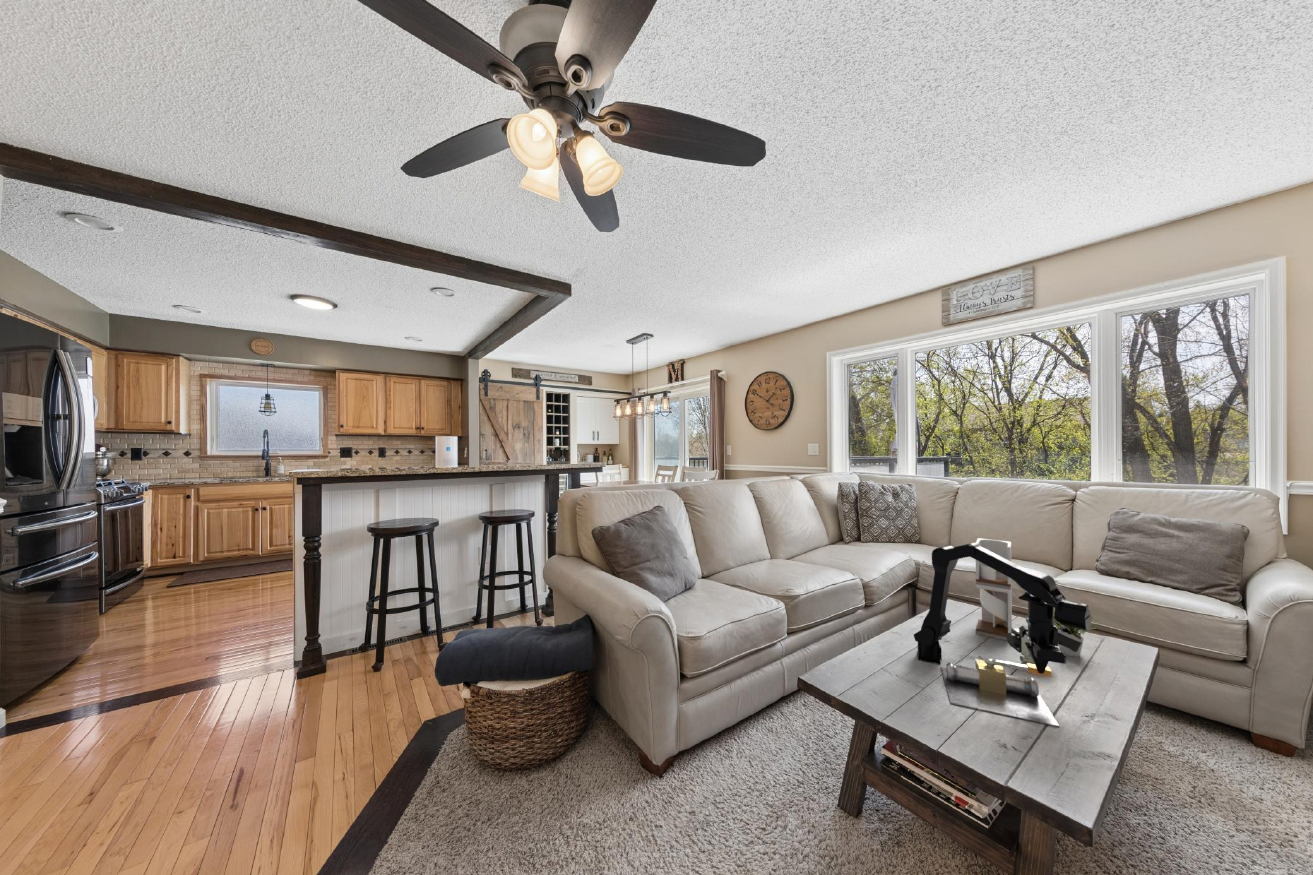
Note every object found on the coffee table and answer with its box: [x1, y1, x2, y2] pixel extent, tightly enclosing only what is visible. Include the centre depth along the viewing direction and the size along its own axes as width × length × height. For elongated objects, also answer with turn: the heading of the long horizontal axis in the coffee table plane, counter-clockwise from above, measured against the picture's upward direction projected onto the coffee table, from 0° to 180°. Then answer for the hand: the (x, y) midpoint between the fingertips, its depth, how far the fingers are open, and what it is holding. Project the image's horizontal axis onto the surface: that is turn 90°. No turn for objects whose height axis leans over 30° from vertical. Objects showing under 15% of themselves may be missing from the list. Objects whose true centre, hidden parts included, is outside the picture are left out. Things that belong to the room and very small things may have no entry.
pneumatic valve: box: [1006, 627, 1056, 665], centre depth 150 cm, size 6×12×12 cm, turn 78°
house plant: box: [1054, 612, 1101, 658], centre depth 156 cm, size 14×14×16 cm
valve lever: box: [983, 656, 1052, 678], centre depth 133 cm, size 15×3×2 cm, turn 62°
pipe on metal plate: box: [940, 658, 1060, 728], centre depth 132 cm, size 24×22×7 cm
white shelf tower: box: [975, 537, 1013, 641], centre depth 175 cm, size 11×11×35 cm
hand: (1040, 673), depth 129 cm, fingers closed
